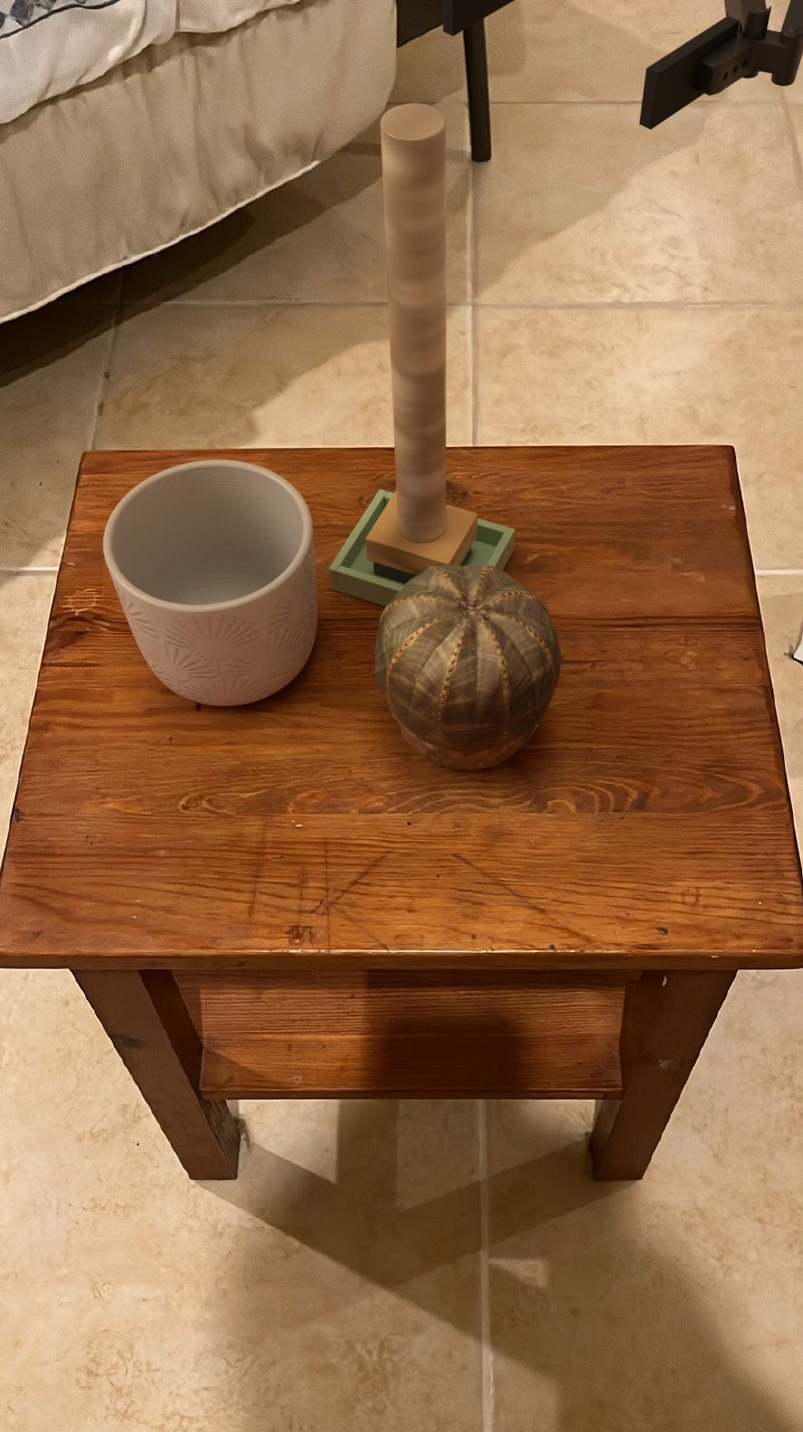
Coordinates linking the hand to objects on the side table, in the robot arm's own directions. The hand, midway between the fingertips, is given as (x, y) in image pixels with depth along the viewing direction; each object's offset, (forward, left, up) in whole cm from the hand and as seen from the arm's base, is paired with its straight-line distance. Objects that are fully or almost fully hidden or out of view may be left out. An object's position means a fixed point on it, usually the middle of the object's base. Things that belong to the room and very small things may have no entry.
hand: (543, 51), depth 66 cm
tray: (+3, +9, -30) cm, 32 cm away
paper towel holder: (+3, +9, -30) cm, 31 cm away
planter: (+12, +21, -30) cm, 39 cm away
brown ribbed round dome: (-5, +21, -30) cm, 37 cm away
